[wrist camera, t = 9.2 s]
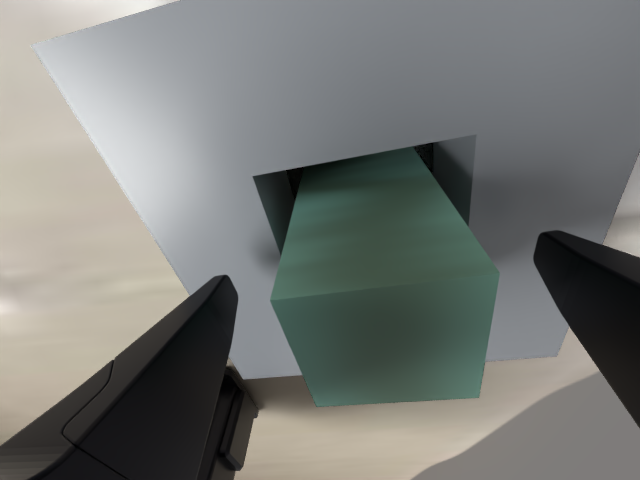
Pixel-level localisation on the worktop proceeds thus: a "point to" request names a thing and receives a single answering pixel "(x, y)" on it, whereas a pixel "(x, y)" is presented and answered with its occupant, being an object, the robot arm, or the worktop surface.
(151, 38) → the socket block
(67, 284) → the worktop surface
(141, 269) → the worktop surface
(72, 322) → the worktop surface
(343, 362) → the peg
